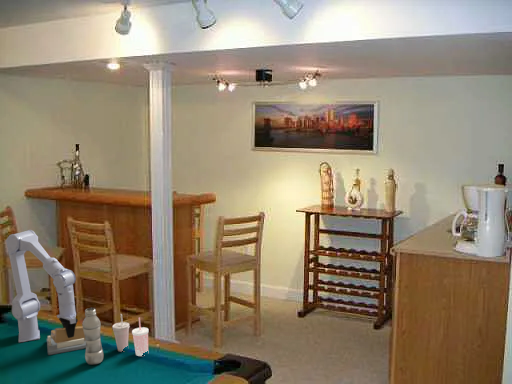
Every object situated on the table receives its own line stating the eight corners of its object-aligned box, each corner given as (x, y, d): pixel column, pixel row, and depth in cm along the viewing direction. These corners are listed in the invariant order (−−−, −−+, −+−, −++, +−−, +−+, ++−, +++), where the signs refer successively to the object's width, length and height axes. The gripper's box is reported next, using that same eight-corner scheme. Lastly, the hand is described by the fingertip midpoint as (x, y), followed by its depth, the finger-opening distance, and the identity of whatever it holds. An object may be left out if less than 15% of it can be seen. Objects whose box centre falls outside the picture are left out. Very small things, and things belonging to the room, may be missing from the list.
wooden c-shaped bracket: (50, 336, 225) (51, 323, 225) (81, 333, 231) (82, 321, 231) (55, 343, 218) (56, 330, 218) (87, 340, 225) (87, 327, 224)
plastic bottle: (87, 368, 202) (82, 314, 199) (84, 361, 208) (79, 308, 205) (106, 364, 205) (101, 310, 202) (101, 357, 211) (97, 305, 208)
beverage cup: (138, 358, 209) (136, 321, 207) (130, 353, 213) (127, 317, 211) (153, 353, 213) (150, 317, 210) (145, 348, 217) (142, 313, 215)
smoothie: (127, 353, 213) (124, 317, 211) (111, 352, 215) (108, 317, 213) (134, 346, 220) (131, 311, 218) (118, 345, 221) (115, 310, 219)
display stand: (46, 341, 228) (46, 333, 227) (91, 333, 234) (90, 325, 234) (48, 355, 215) (47, 346, 214) (94, 346, 221) (94, 338, 221)
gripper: (51, 299, 224) (54, 332, 226) (61, 309, 212) (64, 344, 214) (69, 296, 228) (72, 328, 230) (80, 305, 216) (83, 339, 218)
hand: (69, 336), depth 222 cm, fingers closed on wooden c-shaped bracket, 2 cm apart
